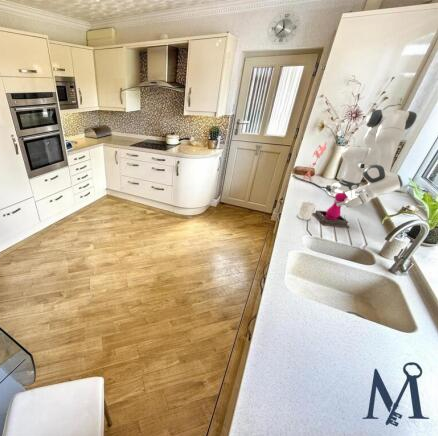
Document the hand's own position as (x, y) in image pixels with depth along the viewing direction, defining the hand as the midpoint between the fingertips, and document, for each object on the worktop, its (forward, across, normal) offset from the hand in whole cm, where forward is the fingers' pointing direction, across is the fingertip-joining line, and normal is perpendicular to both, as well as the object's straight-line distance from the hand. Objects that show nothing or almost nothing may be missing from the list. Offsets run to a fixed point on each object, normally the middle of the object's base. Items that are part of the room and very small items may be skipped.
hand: (336, 203), depth 147 cm
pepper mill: (+8, 0, +9) cm, 12 cm away
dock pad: (+8, 0, +9) cm, 12 cm away
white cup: (+19, +7, -1) cm, 20 cm away
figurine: (+20, -84, -3) cm, 86 cm away
